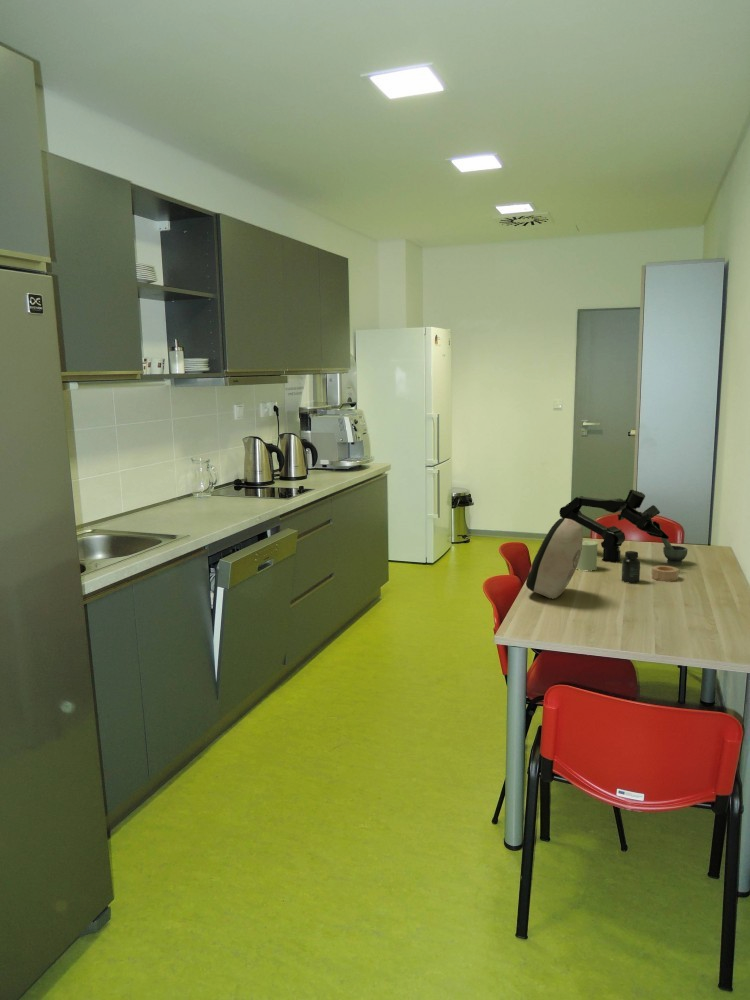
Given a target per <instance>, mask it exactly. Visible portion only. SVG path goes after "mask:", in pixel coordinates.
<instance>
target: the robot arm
mask: <svg viewBox="0 0 750 1000" xmlns="http://www.w3.org/2000/svg"><path fill="white" fill-rule="evenodd" d="M645 498H646V494H645V493H644V492H642V491H637V490H634V489H629V492H628V495H627V497H626V499H623V498H610V499H609V498H608V499H603V498H596V497H595V498H594V497H589V496H583V495H579V496H576V497H575V498H573V500H571V501H570V502H568V503H567V504H566V505H563V506H562V507H560V509H559V512H558V513H559V516H560V519H561V518H567V519H571V520H573V521H575V522H577V523H578V524H579V525H580V526H582V527H585V528H586V529H587V530H590V531H592V532H593V533H595V534H597V535H599V536H600V537H601V538H602V539H603V540H602V541H601V543H600V545H601V548H602V549H603V550H602V551H603V554H602V556H603V557H602V559H601V561H602V560H603V562H609V561H610V563H617V562H619V561H620V560H621V550H620V547H621V546H622V545H623V543H624V542H625V540H626V535H625V533H624V531H622V530H623V529H621V528H618V527H617V526H615V525H613V526H612V525H611V526H609V527H607V526H606V525H603V524H602V523H599V522H598V521H597V520H594V519H592V518H591V517H588V516H587V515H585V514H583V513H582V512H581V508H582V507H589V508H597V509H602V510H605V512H609V513H612V514H615V513H619V512H620V513H619V514H617V519H618V521H620V522H621V521H623V520H626V521H628V522H629V523H630V524H632V525H634V526H635V527H636V529H638V530H640V531H641V532H645V533H646V534H647V535H649V536H651V537H655V538H664V539H669V538H670V536H668V535H667V534H666V532H665V531H664V530H662V525H661V524H660V523H658V522H657V521H656V520H654V521H653V519H654V517H657V515H659V514H661V511H660V510H659V508H658V507H657V506H655V505H653V504H652V505H651V506H650V507H648V508H647V509H645V510H644V511H643V512H641V511H638V510H637V509H640V508H641V506H642V504H643V502H644V500H645Z"/></svg>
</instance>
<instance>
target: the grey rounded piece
mask: <svg viewBox="0 0 750 1000" xmlns="http://www.w3.org/2000/svg"><path fill="white" fill-rule="evenodd" d="M583 539H584V529H583V526H582V525H581V524H579V523H577V522H575V521H573V520H571V519H567V518H561V517H560V518H559V519H557V521H555V523H554V524H552V526H551V527H550V529H549V531H548V532H547V534H546V536H545V537H544V539H543V540H542V543H541V544H540V546H539V548H538V550H537V551H536V554H535V556H534V558H533V561H532V563H531V565H530V568H529V571H528V574H527V578H526V582H525V586H526V588H527V589H529V590H530V591H532V592H533V593H537V594H539V595H542V596H544V597H546V598H548V599H551V598H552V600H555V599H556V598H558V597H559V596H560V595H562V594H563V592H564V591H565V590H566V588H567V587H568V585H569V583H570V581H571V580H572V577H573V576H574V574H575V573H576V567H577V565H578V562H579V559H580V555H581V550H582V543H583ZM554 598H555V599H554Z"/></svg>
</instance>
